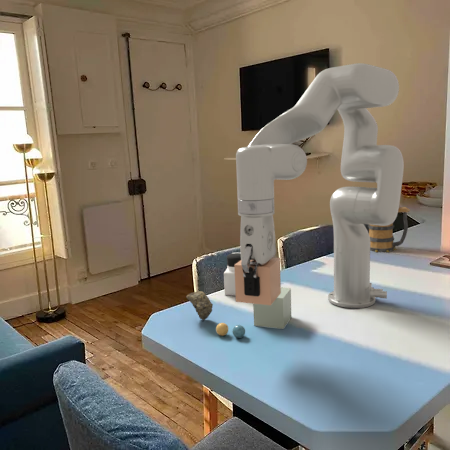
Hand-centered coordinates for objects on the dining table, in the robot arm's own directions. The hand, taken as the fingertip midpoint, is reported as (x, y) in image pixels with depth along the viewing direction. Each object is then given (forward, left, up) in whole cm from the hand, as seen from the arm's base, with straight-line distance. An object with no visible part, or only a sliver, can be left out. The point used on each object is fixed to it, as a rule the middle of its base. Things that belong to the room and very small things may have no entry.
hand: (258, 288), depth 95 cm
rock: (+20, -11, -15) cm, 27 cm away
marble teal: (+8, -5, -14) cm, 17 cm away
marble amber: (+11, -5, -14) cm, 19 cm away
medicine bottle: (+19, -35, -15) cm, 42 cm away
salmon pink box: (0, 0, -2) cm, 2 cm away
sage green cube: (+2, -16, -15) cm, 22 cm away
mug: (-21, -94, -15) cm, 98 cm away
